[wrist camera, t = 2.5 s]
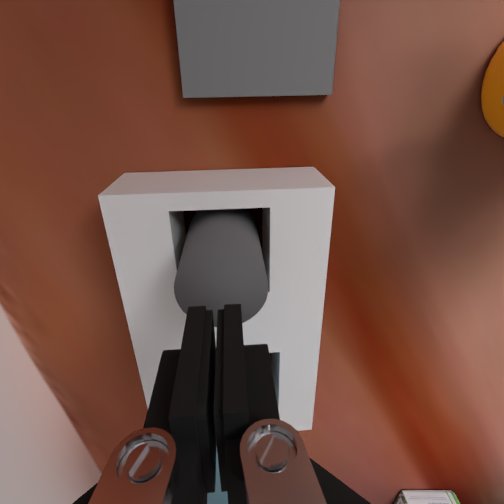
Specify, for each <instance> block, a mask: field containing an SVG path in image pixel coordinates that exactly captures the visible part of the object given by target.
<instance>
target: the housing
mask: <svg viewBox="0 0 504 504" xmlns="http://www.w3.org/2000/svg"><path fill="white" fill-rule="evenodd" d="M334 195H335V187H334V186H333V185H332V184H331V183H330V182H329V181H328V180H327V179H326V178H325V177H324V176H323V175H322V174H321V173H320V172H319V171H318V170H317V169H316V168H315V167H289V168H258V169H227V170H197V171H166V172H135V173H124V174H123V175H121V176H120V177H119V178H118V179H117V180H116V181H114V182H113V183H112V184H111V185H110V186H109V187H107V188H106V189H105V190H104V191H103V192H102V193H100V194H99V195H98V199H99V203H100V207H101V212H102V216H103V220H104V224H105V229H106V233H107V237H108V242H109V246H110V250H111V254H112V259H113V263H114V267H115V271H116V276H117V280H118V284H119V289H120V293H121V297H122V301H123V306H124V310H125V314H126V318H127V323H128V327H129V331H130V336H131V340H132V344H133V348H134V353H135V357H136V361H137V365H138V370H139V374H140V378H141V383H142V387H143V391H144V395H145V400H146V404H147V408H149V404H150V399H151V395H152V391H153V387H154V383H155V379H156V375H157V371H158V367H159V363H160V359H161V355H162V352H163V351H164V350H174V349H181V344H182V338H183V333H184V327H185V322H186V316H187V315H186V314H185V313H184V312H183V311H182V309H181V308H180V307H179V305H178V303H177V301H176V298H175V294H174V281H175V277H176V274H177V270H178V266H179V263H180V259H181V255H182V251H183V248H184V244H185V240H186V230H185V222H184V213H183V211H191V210H217V209H243V208H262V255H263V260H264V265H265V270H266V275H267V280H268V295H267V299H266V301H265V303H264V305H263V307H262V308H261V310H260V311H259V312H258V313H257V314H256V315H255V316H254V317H252V318H251V319H249V320H248V321H246V322H244V323H242V326H243V341H244V345H255V344H267V345H268V349H269V353H271V368H272V374H273V380H274V386H275V392H276V399H277V405H278V411H279V417H280V420H282V421H284V422H286V423H288V424H290V425H291V426H292V427H293V428H295V429H296V430H297V431H300V430H312V421H313V411H314V400H315V390H316V380H317V369H318V359H319V349H320V339H321V328H322V318H323V308H324V298H325V287H326V277H327V267H328V256H329V246H330V236H331V226H332V215H333V205H334ZM214 330H215V342H216V338H217V327H214Z"/></svg>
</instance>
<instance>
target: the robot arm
mask: <svg viewBox="0 0 504 504" xmlns="http://www.w3.org/2000/svg"><path fill="white" fill-rule="evenodd" d="M216 448H217V453H218V463H219V473H220V483H221V492H226V491H227V495H228V504H371V503H369V502H368V501H367V500H365V499H364V498H363V497H361V496H360V495H359V494H357V493H356V492H355V491H353V490H352V489H351V488H349V487H348V486H347V485H345V484H344V483H343V482H341V481H340V480H339V479H337V478H336V477H335V476H333V475H332V474H331V473H329V472H328V471H327V470H325V469H324V468H323V467H321V466H320V465H319V464H317V463H316V462H315V461H313V460H312V459H311V458H309V456H308V453H307V450H306V448H305V445H304V443H303V440H302V438H301V436H300V435H299V433H298V431H297V430H296V429H295V428H293V427H292V426H291V425H290V424H288V423H286V422H284V421H282V420H280V417H279V411H278V405H277V399H276V392H275V386H274V380H273V374H272V368H271V362H270V356H269V349H268V345H267V344H255V345H244V341H243V326H242V312H241V304H227V305H224V309H218V314H217V338H216V342H215V330H214V319H213V310H207V309H206V306H190V307H188V311H187V316H186V322H185V327H184V333H183V338H182V344H181V349H174V350H164V351H163V352H162V355H161V359H160V363H159V367H158V371H157V375H156V379H155V383H154V387H153V391H152V395H151V399H150V404H149V408H148V412H147V416H146V420H145V424H144V428H143V429H140V430H138V431H135V432H133V433H131V434H130V435H128V436H127V437H125V438H124V439H123V440H122V441H121V442H120V443H119V444H118V445H117V446H116V448H115V450H114V451H113V453H112V454H111V456H110V458H109V460H108V463H107V465H106V467H105V469H104V471H103V473H102V475H101V477H100V480H99V482H98V483H97V484H96V485H94V486H93V487H92V488H91V489H90V490H88V491H87V492H86V493H85V494H83V495H82V496H81V497H80V498H79V499H78V500H76V501H75V502H74V503H73V504H207V494H208V493H214V492H215V483H216Z"/></svg>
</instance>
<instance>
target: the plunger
mask: <svg viewBox="0 0 504 504" xmlns="http://www.w3.org/2000/svg"><path fill="white" fill-rule="evenodd" d="M174 294H175V298H176V301H177V303H178V305H179V307H180V308H181V309H182V311H183V312H184V313H185V314H186V315H187V311H188V307H190V306H206V309H207V310H213V319H214V327H217V314H218V309H224V305H227V304H241V312H242V323H244V322H246V321H248V320H249V319H251V318H252V317H254V316H255V315H256V314H257V313H258V312H259V311H260V310H261V308H262V307H263V305H264V303H265V301H266V299H267V295H268V280H267V275H266V270H265V265H264V260H263V255H262V250H261V246H260V241H259V236H258V231H257V226H256V223H255V220H254V218H253V217H252V215H251V214H250V213H249V212H248V211H247V210H246V209H245V208H243V209H217V210H198V211H197V212H196V213H195V215H194V216H193V218H192V220H191V222H190V226H189V229H188V233H187V237H186V240H185V244H184V248H183V251H182V255H181V259H180V263H179V266H178V270H177V274H176V277H175V281H174Z"/></svg>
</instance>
